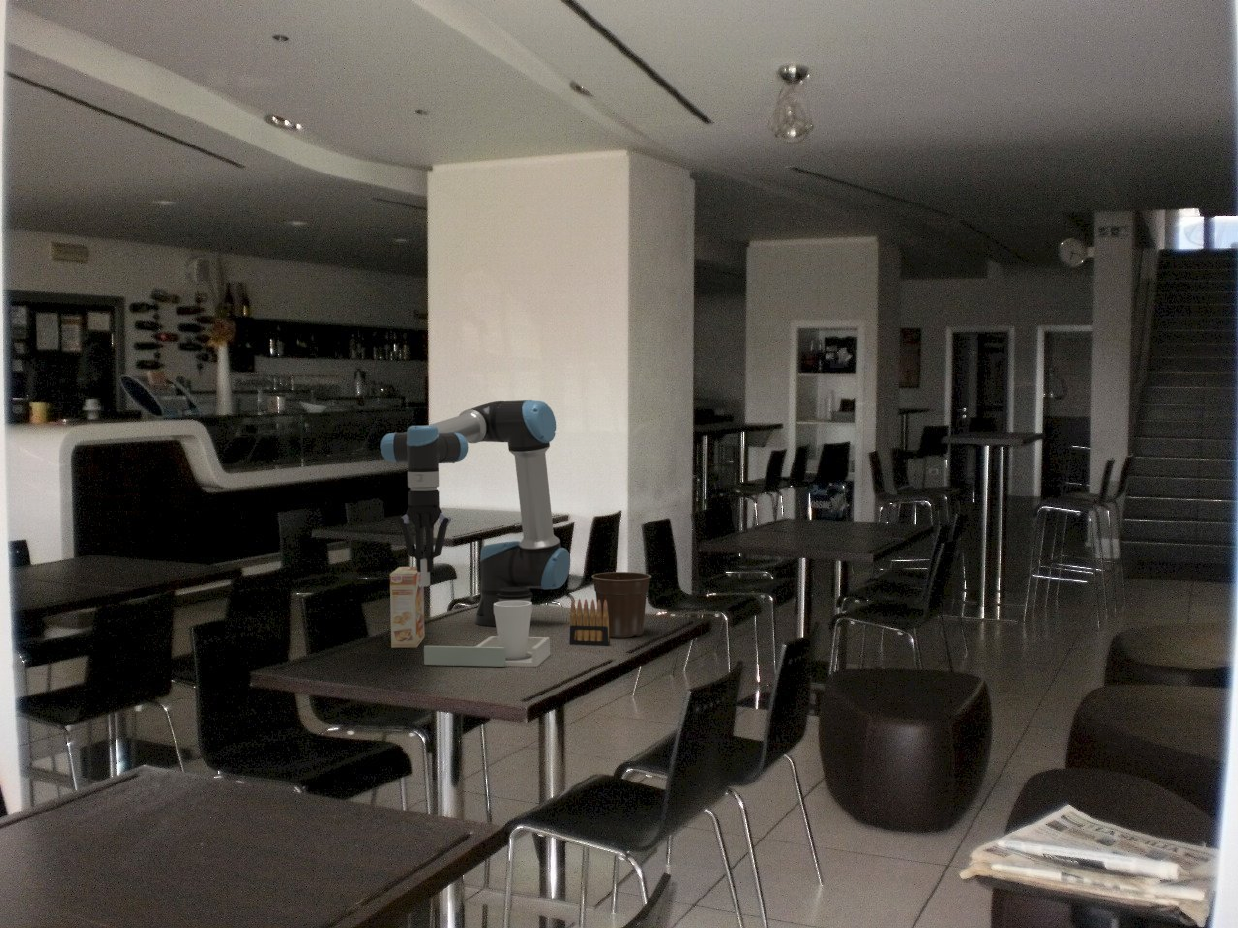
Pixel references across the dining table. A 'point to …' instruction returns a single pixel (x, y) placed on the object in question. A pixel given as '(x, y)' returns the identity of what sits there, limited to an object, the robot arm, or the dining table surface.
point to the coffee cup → (514, 594)
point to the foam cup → (513, 626)
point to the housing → (535, 651)
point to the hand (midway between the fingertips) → (425, 585)
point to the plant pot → (623, 601)
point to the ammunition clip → (589, 625)
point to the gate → (464, 656)
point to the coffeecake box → (406, 608)
